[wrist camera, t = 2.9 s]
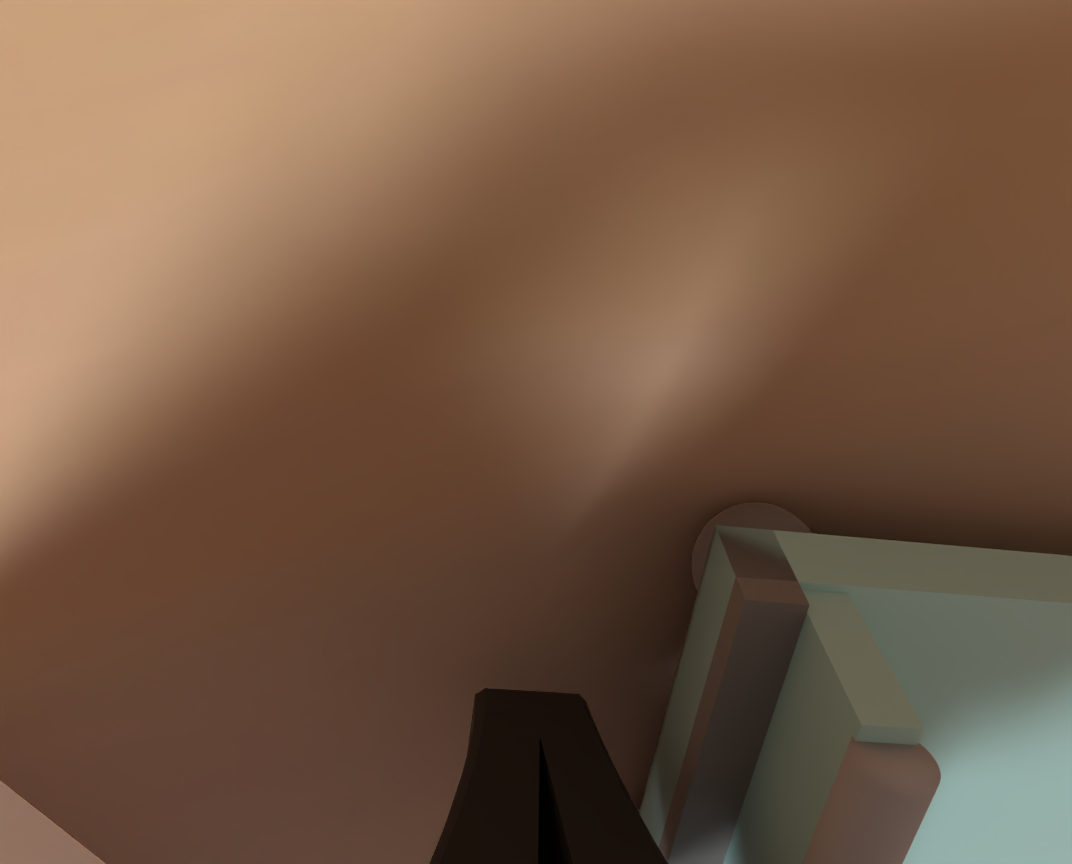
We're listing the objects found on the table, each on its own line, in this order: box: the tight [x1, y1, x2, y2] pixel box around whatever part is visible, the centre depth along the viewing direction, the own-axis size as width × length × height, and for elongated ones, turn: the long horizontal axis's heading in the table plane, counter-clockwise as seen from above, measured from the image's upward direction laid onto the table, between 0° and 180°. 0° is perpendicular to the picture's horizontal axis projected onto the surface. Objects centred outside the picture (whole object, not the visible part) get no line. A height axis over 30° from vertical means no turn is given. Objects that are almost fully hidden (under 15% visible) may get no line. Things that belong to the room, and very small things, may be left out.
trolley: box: [638, 502, 1072, 864], centre depth 12 cm, size 7×8×5 cm
